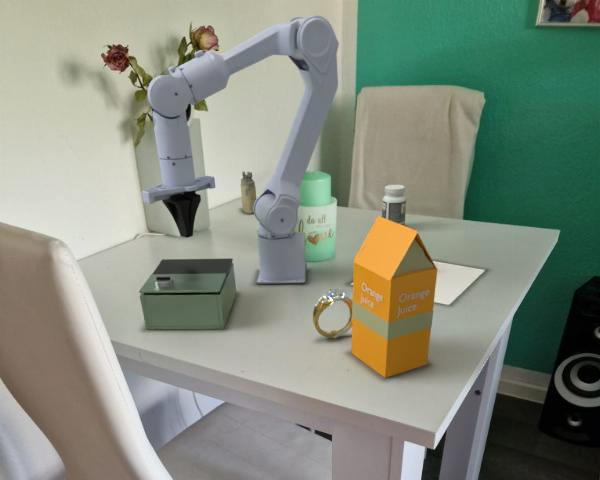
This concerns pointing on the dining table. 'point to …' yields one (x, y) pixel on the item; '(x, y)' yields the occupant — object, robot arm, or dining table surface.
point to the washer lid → (193, 266)
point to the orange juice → (392, 299)
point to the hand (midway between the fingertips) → (186, 236)
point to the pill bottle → (394, 204)
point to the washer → (189, 301)
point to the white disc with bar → (163, 281)
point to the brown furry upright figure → (248, 193)
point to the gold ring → (320, 308)
